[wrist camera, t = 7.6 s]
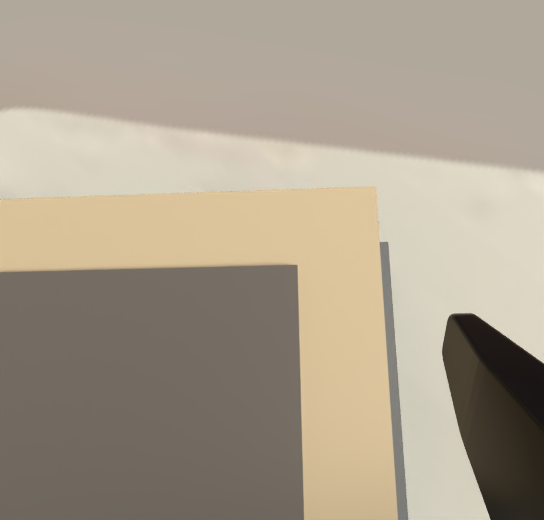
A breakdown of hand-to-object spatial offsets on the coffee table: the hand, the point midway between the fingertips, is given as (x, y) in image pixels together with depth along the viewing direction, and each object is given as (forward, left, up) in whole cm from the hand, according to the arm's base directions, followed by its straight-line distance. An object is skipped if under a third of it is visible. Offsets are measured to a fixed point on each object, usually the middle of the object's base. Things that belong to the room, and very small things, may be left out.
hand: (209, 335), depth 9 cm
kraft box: (-1, -1, -8) cm, 8 cm away
